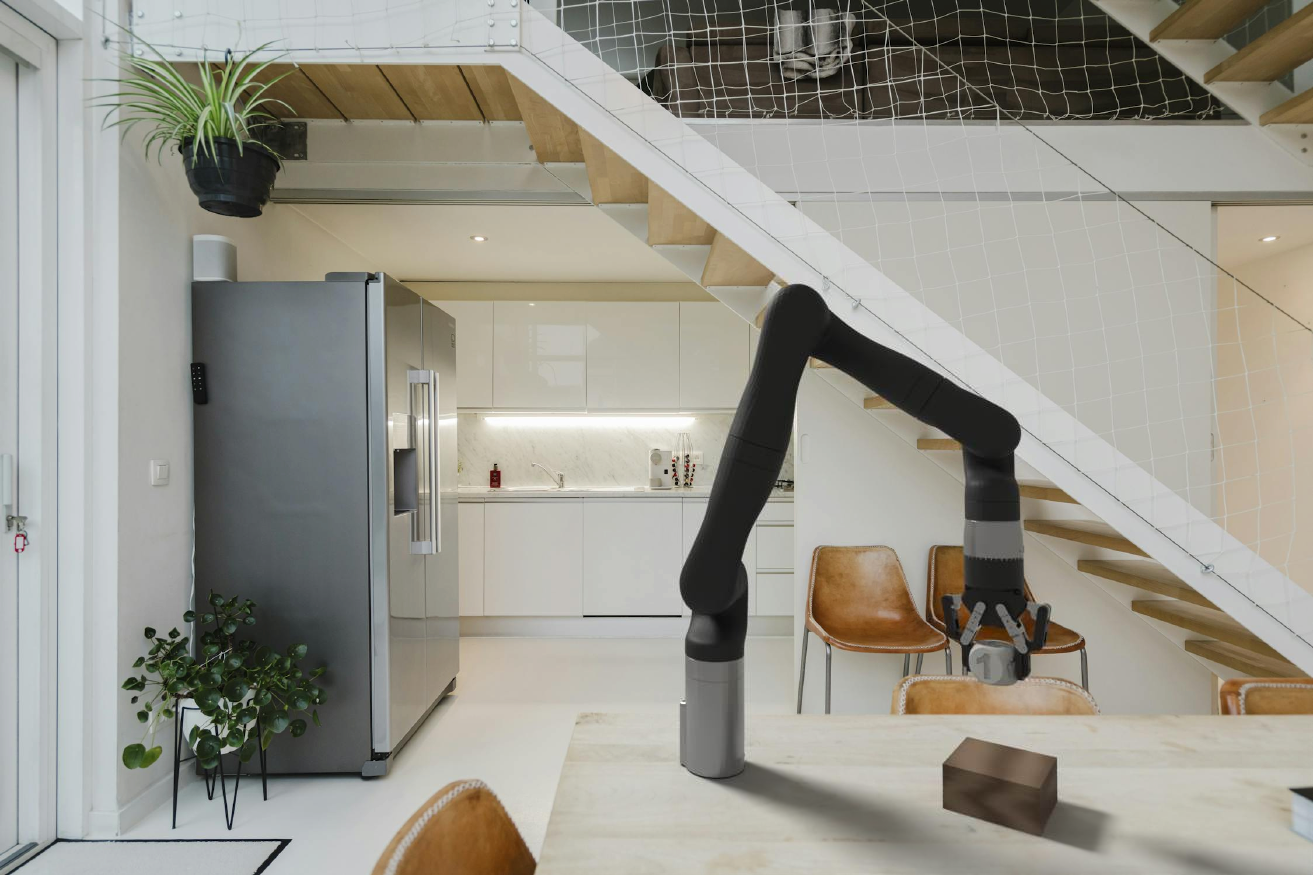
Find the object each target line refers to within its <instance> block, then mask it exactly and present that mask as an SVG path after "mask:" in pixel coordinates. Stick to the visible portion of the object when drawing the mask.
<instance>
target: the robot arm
mask: <svg viewBox="0 0 1313 875" xmlns="http://www.w3.org/2000/svg"><path fill="white" fill-rule="evenodd" d="M755 353H756V354H755V357H754V361H753V365H752V368H751V371H750V374H749V378H748V380H747V383H746V385H745V387H744V390H743V393H742V395H741V398H740V399H739V403H738V406H737V409H736V412H735V414H734V417H733V419H732V423H731V425H730V427H729V431H728V434H727V435H726V436H727V437H726V440H725V444H724V447H723V450H722V453H721V456H720V459H719V463H718V467H717V470H716V473H715V477H714V480H713V484H712V487H711V491H710V494H709V498H708V502H707V507H706V511H705V514H704V517H703V520H702V522H701V525H700V527H699V530H698V533H697V535H696V537H695V540H694V541H693V544H692V547H691V548H690V551H689V552H688V555H687V557H686V560H685V562H684V563H683V566H682V569H681V572H680V576H679V579H678V580H679V582H678V584H679V591H680V592H679V593H680V596H681V598H682V601H683V602H684V604H685V605H686V607H687V608H688V609H689V610H690V611H691V617H690V622H689V626H688V629H687V632H686V634H685V639H684V666H685V667H684V670H685V671H684V677H685V678H684V679H685V680H684V700H682V701H680V703H679V764H681V765H683V766H685V768H686V769H687V770H688V771H690V773H693V774H694V775H698V776H701V777H705V778H713V779H714V778H715V779H717V778H718V779H719V778H729V777H733V776H736V775H738V774H740V773H741V772H742V771H743V770H744V769H745V756H746V754H745V740H746V739H745V736H746V734H745V733H746V732H745V724H746V723H745V718H746V717H745V714H746V713H745V644H746V637H747V632H748V625H749V624H748V617H749V615H748V614H749V577H748V572H747V569H746V566H745V563H744V562H743V561H742V560H743V556H744V551H745V548H746V545H747V542H748V538H749V536H750V534H751V531H752V529H753V527H754V525H755V523H756V521H757V520H758V518H759V516H760V514H761V513H762V511H763V510H764V507H765V506H766V504H767V502H768V500H769V498H770V496H771V494H772V492H773V490H774V488H775V487H776V484H777V481H778V479H779V477H780V474H781V471H782V468H783V464H784V462H785V459H786V455H787V452H788V448H789V445H790V442H791V441H790V440H791V436H792V433H793V432H792V431H793V427H794V426H793V425H794V421H795V412H796V402H797V397H798V396H797V395H798V391H799V390H798V389H799V386H800V382H801V380H802V377H803V374H804V371H805V368H806V366H807V363H808V361H809V358H813V359H815V360H817V361H821V362H823V363H825V364H827V365H829V366H830V367H831V366H832V367H833V368H835V369H837V370H839V371H840V372H843V373H844V374H846V375H847V376H849V377H850V378H853V379H854V380H856V381H857V382H859V383H860V384H862V385H863V386H864V387H866V388H868V390H870V391H872V392H874V394H876V395H878V396H879V397H881V398H882V399H883V400H884V401H885V400H886V401H887V402H888V403H890V404H891V405H892V406H895V407H896V408H898V409H899V410H901V411H903V412H904V413H906V414H908V415H909V416H911V417H912V418H914V419H916V420H917V421H919V422H921V423H923V424H925V425H927V426H930V427H933V428H936V429H937V430H938V431H941V432H942V433H944V434H945V435H947V436H948V437H950V438H951V439H953V440H954V441H956V442H958V443H959V444H961V451H962V460H963V461H962V462H963V463H962V464H963V470H964V478H965V483H964V484H965V485H964V495H963V496H964V497H963V498H964V499H963V500H964V528H963V576H964V584H963V585H964V589H963V592H962V593H961V594H953V593H946V594H945V595H942V597H941V599H940V601H941V608H942V612H943V619H944V623H945V629H946V635H947V637H948V638H950V639H954V640H957V641H958V642H959V643H960V644H961V664H962V667H963V668H966V672H967V673H972V672H971V670H970V666H969V655H970V651H971V648H972V647H973V645H974V644H975V643H976V642H974V640H975V638H976V636H977V635H978V633H979V630H980V629H981V627H994V628H998V629H1002V630H1003V629H1004V630H1005V629H1006V631H1007V634H1008V635H1009V637H1010V638H1011V639H1012V640H1013V644H1015V645H1014V646H1015V647H1016V648H1017V649H1018V652H1017V653H1016V667H1017V680H1018V681H1021V682H1024V681H1025V680H1026V678H1028V677H1029V676H1030V674H1031V673H1032V665H1031V663H1032V662H1031V661H1032V660H1031V655H1032V654H1031V653H1032V652H1040V651H1041V650H1043V648H1044V647H1045V646H1046V645H1047V641H1048V633H1049V626H1050V620H1051V614H1052V605H1050V604H1049V603H1037V602H1033V601H1029V599H1028V597H1027V595H1026V591H1025V567H1024V566H1025V559H1024V557H1025V556H1024V554H1025V545H1024V534H1023V530H1022V529H1023V528H1022V524H1021V522H1022V520H1021V497H1020V496H1021V494H1020V487H1019V483H1018V481H1017V480H1016V474H1015V473H1016V472H1015V471H1016V470H1015V468H1016V466H1015V463H1016V462H1015V450H1016V449H1017V448H1018V446H1019V445H1020V442H1021V439H1022V429H1021V426H1020V423H1019V421H1018V419H1017V418H1016V417H1015V416H1014V415H1013V414H1012V413H1011V412H1010V411H1009V410H1006V409H1005V408H1003V407H1002V406H1000V405H998V404H997V403H995V402H993V401H990V400H988V399H986V398H984V397H982V396H980V395H978V394H975V393H974V392H972V391H969V390H966V389H964V388H963V387H961V386H959V385H958V384H956V383H955V382H953V381H952V380H950V379H949V378H948V377H945V376H944V375H942V374H940V373H939V372H937V371H935V370H933V369H932V368H930V367H928V366H927V365H925V364H924V363H921V362H919V361H917V360H916V359H914V358H912V357H910V356H908V355H906V354H903V353H902V352H899V351H896V350H895V349H893V348H891V347H888V346H885V345H884V344H881V343H879V342H877V341H875V340H872V339H871V338H869V337H867V336H865V335H863V333H860V332H859V331H858V330H856V329H854V328H853V327H851V326H850V325H849V324H847V323H846V322H845V321H844V320H843V319H841V317H839V316H838V315H836V313H834V312H833V311H832V310H831V309H830V308H829V306H828V305H827V303H826V301H825V299H824V298H823V296H822V295H821V294H820V293H819V292H818V291H817V290H815V288H813V287H811V286H809V285H806V284H803V283H792V284H788V285H786V286H784V287H782V288H780V289H779V290H778V291H777V292H776V293H774V294H773V296H772V297H771V298H770V299H769V301H768V303H767V305H766V308H765V310H764V313H763V319H762V324H761V329H760V334H759V340H758V344H757V347H756V352H755ZM961 603H962V604H963V605H964V607H965V608H966V609H967V611H968V612H969V614H970V617H969V619H968V622H967V623H966V625H965V629H964V630H963V629H961V623H960V617H959V612H958V610H960V609H961ZM1026 611H1029V612H1030V617H1031V619H1033V620H1034V621H1035V624H1034V625H1035V626H1034V632H1033V638H1032V639H1029V637H1028V634H1027V633H1026V629H1025V627H1024V624H1023V622H1022V621H1021V619H1020V618H1021V617H1022V615H1023V614H1024V613H1025V612H1026Z"/></svg>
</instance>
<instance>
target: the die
mask: <svg viewBox="0 0 1313 875" xmlns="http://www.w3.org/2000/svg"><path fill="white" fill-rule="evenodd" d="M974 643H975V644H974V645H973V647H972V648H971V651H970V655H969V666H970V670H971V672H970V673H972V675H973V677H974V678H976V680H977V681H978V682H980V683H982V684H985V685H988V686H989V685H990V686H993V687H994V686H995V687H1009V686H1014V685H1015V684H1016V683H1017V682H1018V681H1019V680H1017V667H1016V653H1017V652H1018V649H1017V647H1016V645H1014V643H1011V642H1008V641H1004V640H998V639H981V640H978V641H976V642H974Z"/></svg>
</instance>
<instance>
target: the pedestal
mask: <svg viewBox="0 0 1313 875" xmlns="http://www.w3.org/2000/svg"><path fill="white" fill-rule="evenodd" d="M941 765H942V767H941V768H942V770H941V771H942V772H941V773H942V809H946V810H948V811H951V812H952V811H953V812H955V813H958V814H962V815H965V816H969V817H972V818H975V819H978V820H979V819H980V820H983V821H984V822H985V821H986V822H989V823H993V824H996V825H1000V826H1002V827H1006V828H1010V829H1013V830H1016V831H1019V832H1024V833H1027V834H1030V835H1034V836H1037V837H1041V836H1042V834H1043V832H1044V830H1045V828H1046V825H1047V824H1048V822H1049V819H1050V818H1051V815H1052V814H1053V811H1054V809H1055V807H1056V804H1057V803H1058V801H1059V800H1058V796H1059V795H1058V757H1057V756H1052V755H1048V754H1044V753H1039V752H1035V751H1031V750H1027V749H1022V748H1018V747H1014V746H1009V745H1004V744H1001V743H996V742H990V741H987V740H983V739H977V738H975V737H970V736H966V737H965V738H964V740H962V741H961V743H960V744H959V745H958V746H957V747H956V748H955V749H954V750H953V751H952V753H950V754H949V756H948V757H947V758H946V759H945V760H944V761H943V762H942V764H941Z"/></svg>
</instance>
